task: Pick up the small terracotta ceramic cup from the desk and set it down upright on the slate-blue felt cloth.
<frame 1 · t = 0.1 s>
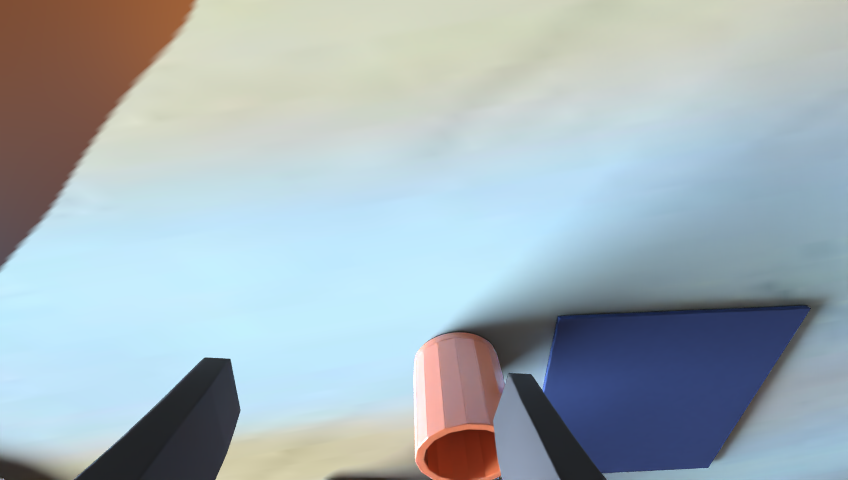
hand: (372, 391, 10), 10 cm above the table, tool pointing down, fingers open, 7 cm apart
cup: (455, 362, 24), on the table
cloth: (644, 402, 27), on the table
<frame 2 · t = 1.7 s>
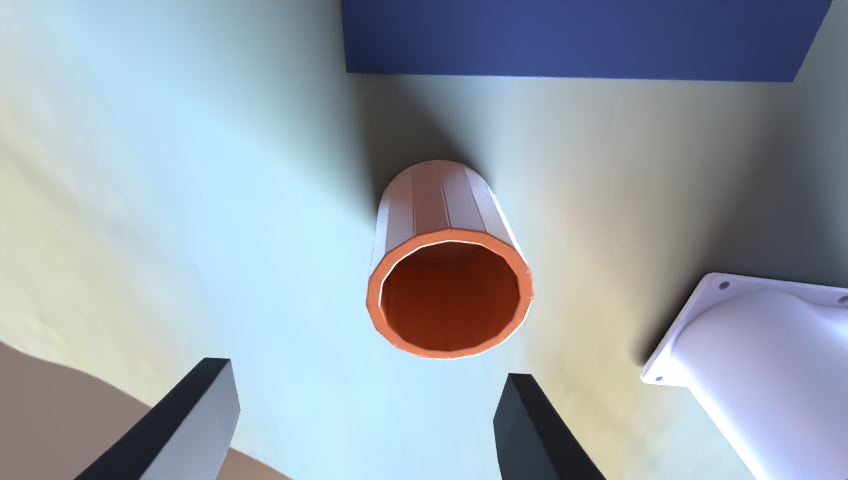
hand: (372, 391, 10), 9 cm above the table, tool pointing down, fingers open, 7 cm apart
cup: (437, 215, 17), on the table
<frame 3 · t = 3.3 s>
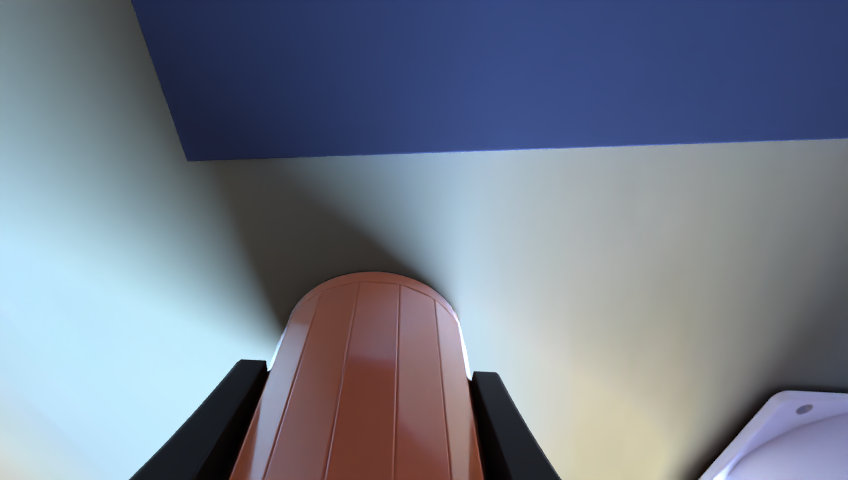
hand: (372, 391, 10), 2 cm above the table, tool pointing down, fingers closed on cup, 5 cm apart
cup: (375, 341, 12), on the table, touching gripper
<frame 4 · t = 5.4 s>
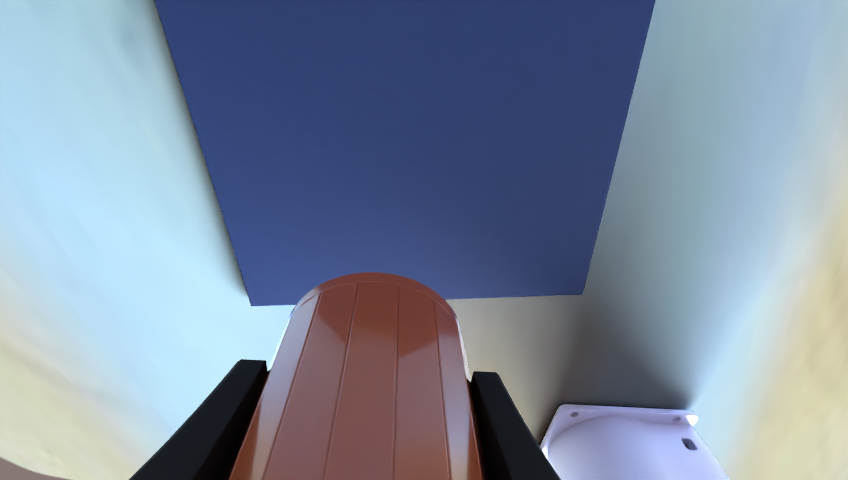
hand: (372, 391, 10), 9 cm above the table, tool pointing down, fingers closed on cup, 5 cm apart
cup: (375, 341, 12), point 7 cm above the table, touching gripper
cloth: (414, 156, 16), on the table
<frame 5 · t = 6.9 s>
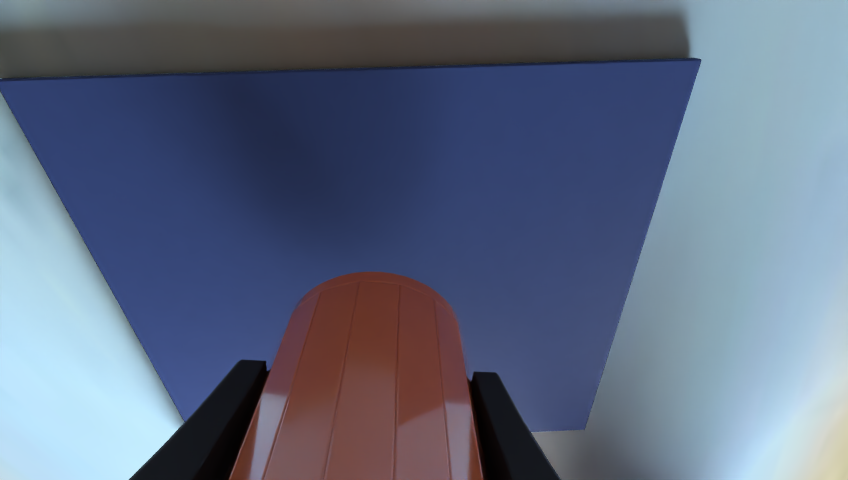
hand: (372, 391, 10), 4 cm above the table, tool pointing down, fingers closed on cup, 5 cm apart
cup: (375, 341, 12), point 2 cm above the table, touching gripper
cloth: (380, 302, 13), on the table
when the fingers open (2 cm above the table, at t = 7.9 s): cup stays where it is, resting on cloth.
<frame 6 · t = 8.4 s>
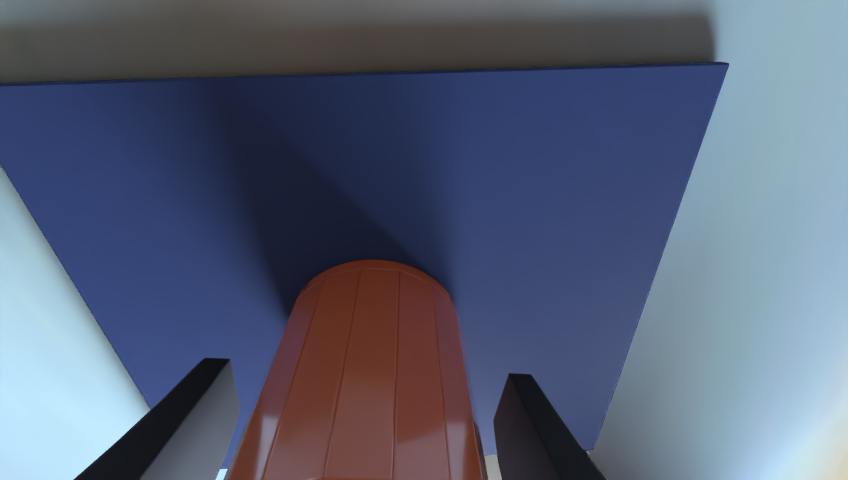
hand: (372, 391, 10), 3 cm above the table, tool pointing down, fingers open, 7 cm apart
cup: (376, 327, 12), resting on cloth
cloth: (378, 321, 12), on the table
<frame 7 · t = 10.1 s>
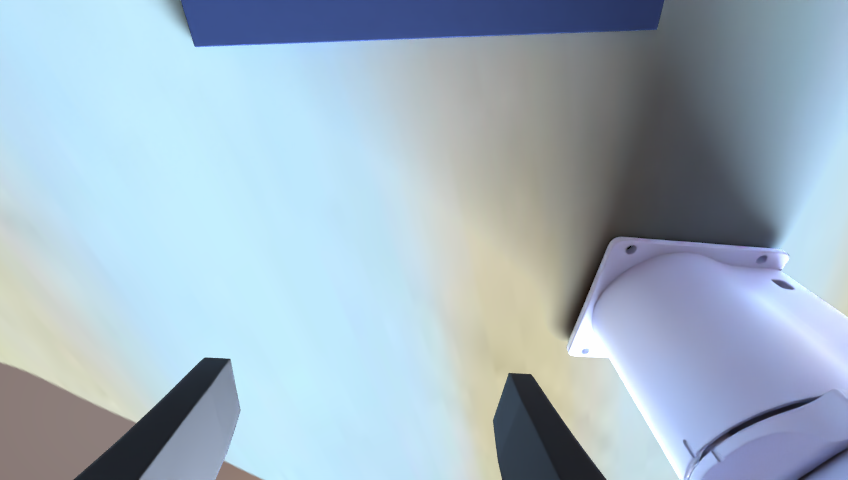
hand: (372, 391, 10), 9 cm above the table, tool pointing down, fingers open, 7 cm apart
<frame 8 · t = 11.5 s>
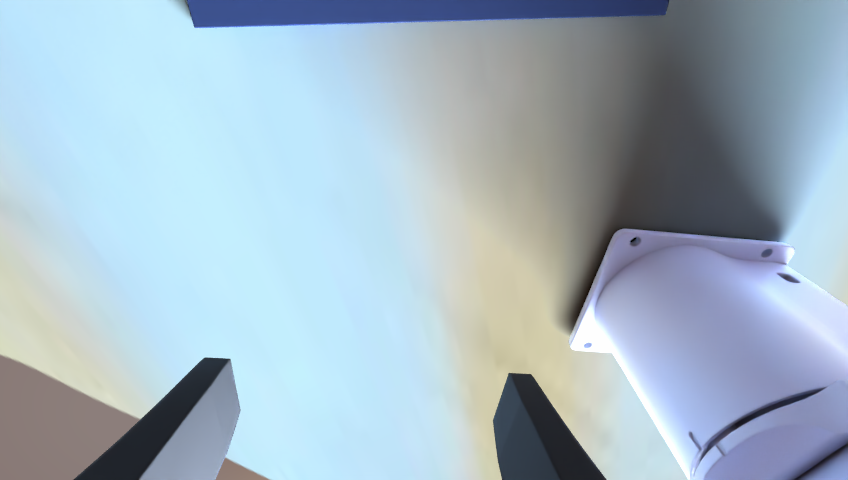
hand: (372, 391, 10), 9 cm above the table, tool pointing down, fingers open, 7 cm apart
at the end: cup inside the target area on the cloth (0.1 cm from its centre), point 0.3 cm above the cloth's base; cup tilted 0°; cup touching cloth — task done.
